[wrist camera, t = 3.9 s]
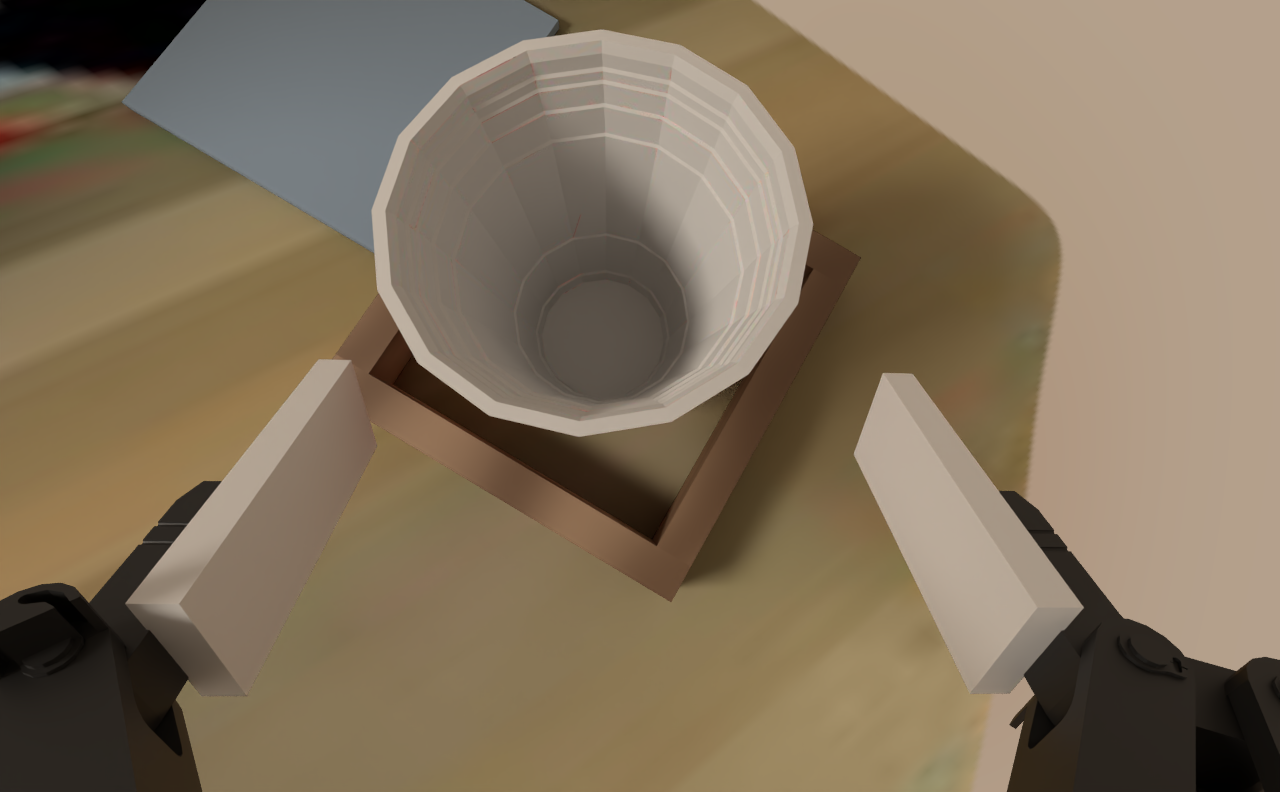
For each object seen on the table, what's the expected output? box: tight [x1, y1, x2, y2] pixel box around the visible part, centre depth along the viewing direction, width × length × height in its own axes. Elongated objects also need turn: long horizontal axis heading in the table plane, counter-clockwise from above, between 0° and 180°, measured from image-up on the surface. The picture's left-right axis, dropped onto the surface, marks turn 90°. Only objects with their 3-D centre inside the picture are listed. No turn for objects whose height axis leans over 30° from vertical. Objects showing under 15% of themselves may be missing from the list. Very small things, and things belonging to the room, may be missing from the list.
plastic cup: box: [371, 29, 813, 437], centre depth 19 cm, size 11×11×12 cm
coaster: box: [122, 0, 559, 253], centre depth 26 cm, size 14×14×1 cm
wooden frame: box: [332, 230, 861, 602], centre depth 24 cm, size 16×16×2 cm
